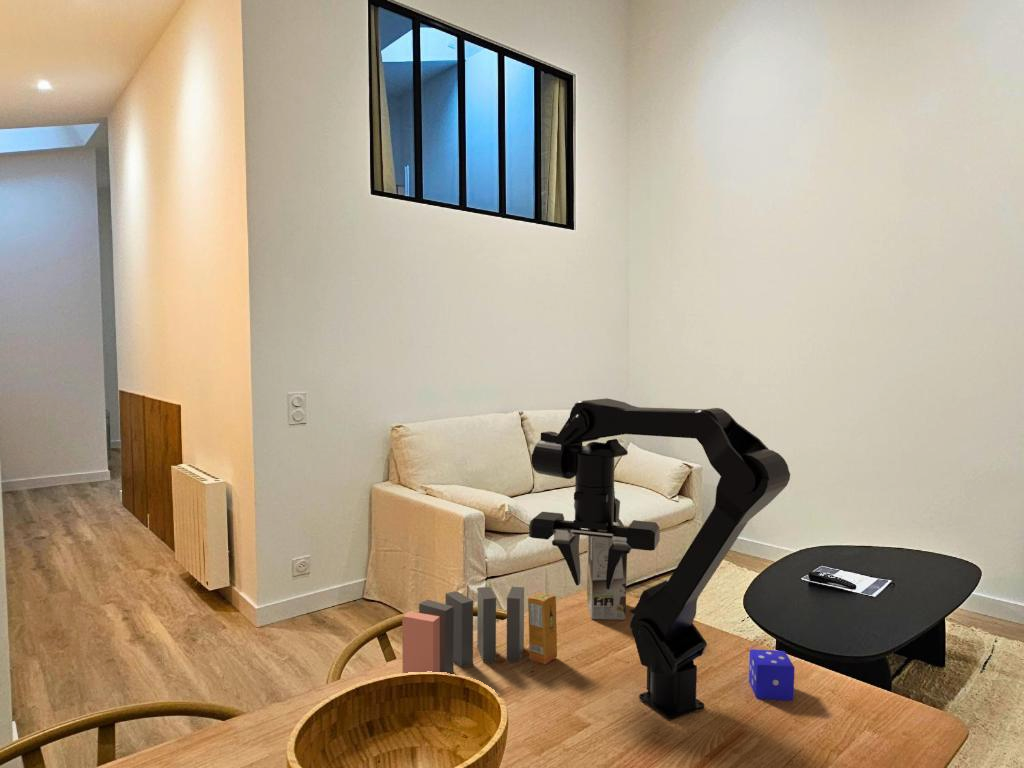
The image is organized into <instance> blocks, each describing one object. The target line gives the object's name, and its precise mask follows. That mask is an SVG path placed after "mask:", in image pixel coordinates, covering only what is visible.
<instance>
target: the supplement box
mask: <svg viewBox="0 0 1024 768" xmlns="http://www.w3.org/2000/svg"><path fill="white" fill-rule="evenodd" d="M556 598H557V596H555V595H554V594H553V595H552V594H549V593H544V592H538V593H536V594H534V595H532V596H530V597H528V599H527V602H528V603H527V604H528V605H527V606H528V638H529V641H528V642H529V643H528V644H529V660H531V661H534V662H536V663H540V664H543V665H547V664H548V663H549V662H551V661H552V660H555V659H556V658H557V657H558V639H557V638H558V637H557V636H558V634H557V599H556Z"/></svg>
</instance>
